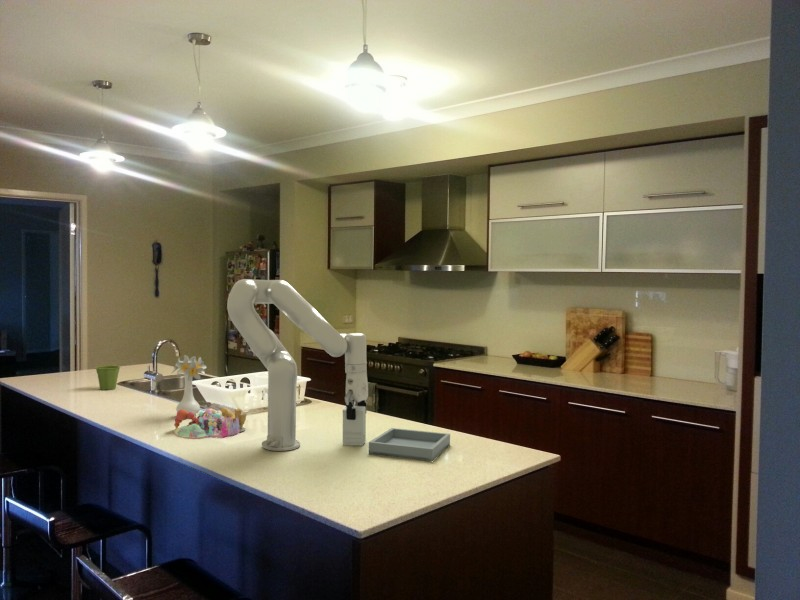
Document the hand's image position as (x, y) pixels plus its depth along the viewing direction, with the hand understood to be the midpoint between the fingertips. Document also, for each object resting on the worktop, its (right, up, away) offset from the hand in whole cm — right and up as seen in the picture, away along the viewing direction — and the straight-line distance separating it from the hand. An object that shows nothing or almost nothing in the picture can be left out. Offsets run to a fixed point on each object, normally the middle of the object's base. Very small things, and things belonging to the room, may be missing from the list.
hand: (356, 416), depth 221 cm
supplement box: (-1, -10, 0) cm, 10 cm away
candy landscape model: (-56, -9, +14) cm, 58 cm away
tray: (+19, -10, -7) cm, 22 cm away
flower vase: (-72, -7, +38) cm, 81 cm away
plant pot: (-133, -4, +97) cm, 165 cm away
